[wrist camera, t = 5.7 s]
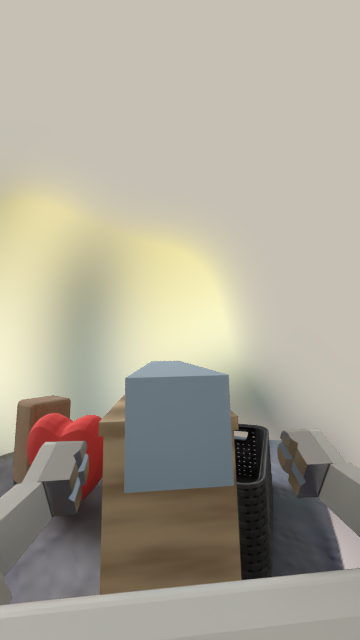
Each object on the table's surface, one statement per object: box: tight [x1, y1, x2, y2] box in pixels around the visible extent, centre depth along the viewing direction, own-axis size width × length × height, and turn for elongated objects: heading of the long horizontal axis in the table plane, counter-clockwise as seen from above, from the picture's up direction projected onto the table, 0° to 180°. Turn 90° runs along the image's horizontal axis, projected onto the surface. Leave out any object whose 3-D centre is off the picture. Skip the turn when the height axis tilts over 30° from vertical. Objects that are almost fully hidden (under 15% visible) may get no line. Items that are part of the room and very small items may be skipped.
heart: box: [27, 413, 104, 502], centre depth 50 cm, size 20×9×19 cm, turn 74°
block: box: [12, 396, 70, 484], centre depth 63 cm, size 10×10×20 cm
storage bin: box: [234, 424, 273, 580], centre depth 48 cm, size 29×19×13 cm
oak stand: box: [99, 395, 241, 595], centre depth 26 cm, size 19×11×26 cm, turn 5°
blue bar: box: [124, 361, 234, 493], centre depth 22 cm, size 26×4×4 cm, turn 5°
